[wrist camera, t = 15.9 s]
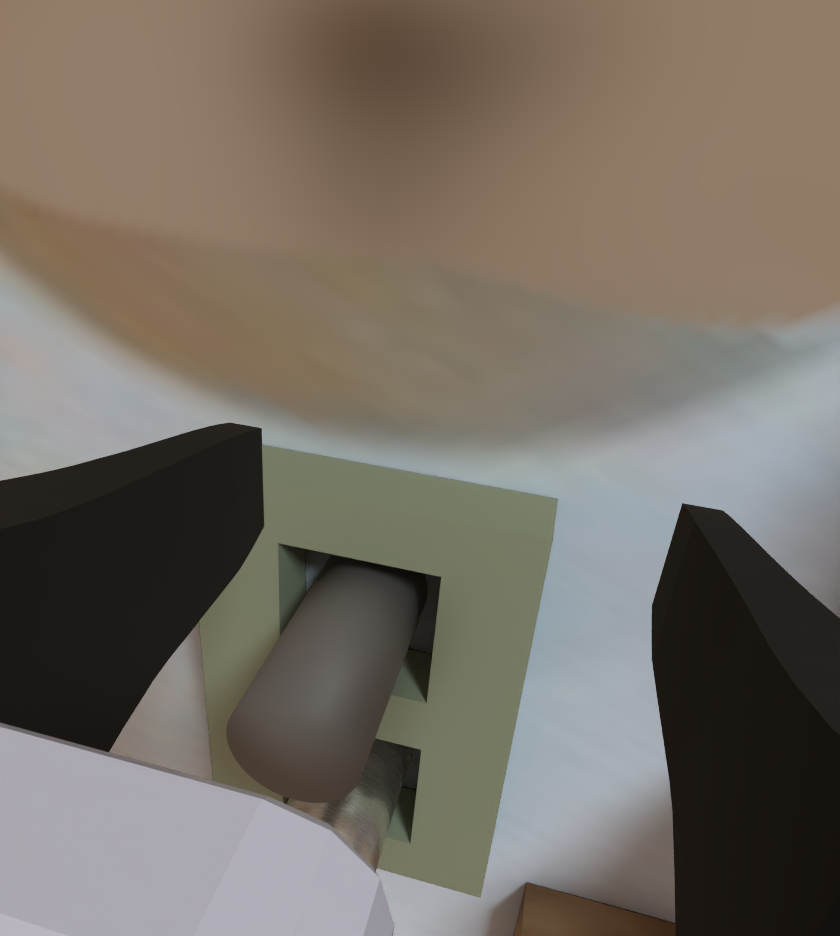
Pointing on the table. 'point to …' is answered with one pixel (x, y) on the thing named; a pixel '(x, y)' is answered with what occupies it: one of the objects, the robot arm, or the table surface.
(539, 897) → the socket holder
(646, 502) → the table surface
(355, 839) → the steel peg
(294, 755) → the tool rack
